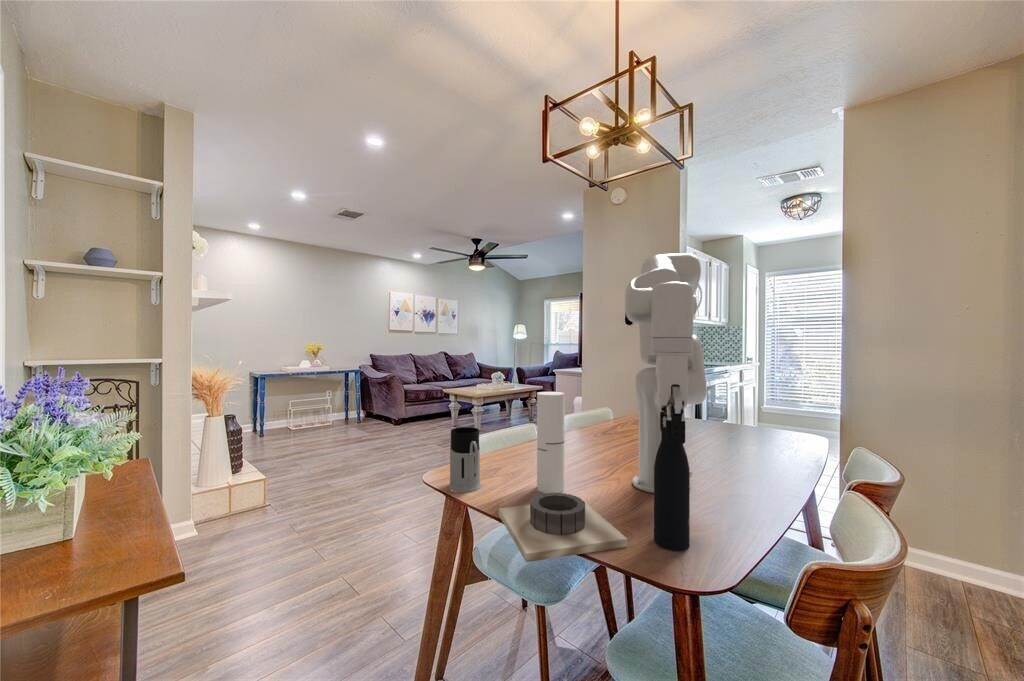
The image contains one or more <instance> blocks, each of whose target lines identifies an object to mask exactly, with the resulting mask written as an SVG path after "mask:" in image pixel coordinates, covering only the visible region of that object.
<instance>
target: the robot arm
mask: <svg viewBox="0 0 1024 681" xmlns="http://www.w3.org/2000/svg"><path fill="white" fill-rule="evenodd" d="M701 267H702V266H701V262H700V259H699V258H698V257H697V256H696V255H695V254H693V253H690V252H689V253H688V252H684V253H681V252H680V253H663V254H655V255H652V256H649V257H648V258H646V259H645V260H644V261H643V263H642V265H641V268H640V275H638V276H636V277H634V278H633V279H631V280H630V281H629V282H628V284H627V285H626V289H625V292H624V312H625V316H626V318H627V319H628V321H630V322H632V323H634V324H637V325H638V327H639V329H638V331H639V334H638V335H639V354H640V359H641V362H642V363H643V364H644V365H646V366H647V367H645V368H642V369H641V370H639V371H638V372H637V374H636V375H635V379H634V380H635V381H634V382H635V383H634V384H635V391H636V392H635V393H636V400H637V409H638V410H637V411H638V475H635V476H633V477H632V484H633V486H634V487H635V488H637V489H639V490H640V491H644V492H646V493H651V494H654V464H655V459H656V454H657V451H658V448H659V445H660V443H661V427H662V426H663V417H664V416H667V417H668V420H666V441H667V442H668V443H680V444H683V445H684V444H685V443H686V420H685V419H686V417H685V409H686V408H687V406H688V405H691V406H692V405H694V406H695V405H700V404H702V403H703V402H705V400H706V399H707V394H708V393H707V392H708V386H707V377H706V368H705V362H704V361H705V360H704V352H703V347H702V346H703V345H702V342H701V340H700V339H699V337H698V336H697V335H696V334H694V316H695V315H696V314H697V308H698V300H697V296H696V295H695V292H696V289H697V287H698V285H699V282H700V280H701V273H702V268H701ZM671 391H672V395H671ZM665 406H667V407H666V408H667V415H665V414H664V412H665ZM692 477H693V472H692V470H690V478H692Z"/></svg>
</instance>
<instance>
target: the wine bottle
mask: <svg viewBox="0 0 1024 681" xmlns="http://www.w3.org/2000/svg"><path fill="white" fill-rule="evenodd" d="M671 395H672V391H671ZM666 407H667V406H665V412H664V414H665V415H667V408H666ZM666 420H668V417H667V416H664V417H663V426H662V427H661V443H660V445H659V448H658V451H657V454H656V459H655V464H654V493H653V541H654V543H655V544H656V545H657V546H659V547H660V548H662V549H664V550H668V551H673V552H682V551H687V550H688V549H689V548H690V530H691V529H690V524H691V523H690V507H691V506H690V503H691V502H690V498H691V497H690V496H691V495H690V493H691V492H690V486H691V484H690V483H691V482H690V478H691V477H690V471H691V470H690V466H689V460H688V459H689V458H688V454H687V452H686V449H685V446H684V444H680V443H668V442H667V441H666Z"/></svg>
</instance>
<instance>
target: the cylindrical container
mask: <svg viewBox="0 0 1024 681" xmlns="http://www.w3.org/2000/svg"><path fill="white" fill-rule="evenodd" d="M565 398H566V396H565V393H564V392H562V391H561V392H560V391H539V392H536V401H537V402H536V420H537V421H536V477H537V478H536V489H537V491H538V492H540V493H541V494H545V493H562V492H564V491H565V424H566V423H565V413H566V412H565V411H566V410H565Z"/></svg>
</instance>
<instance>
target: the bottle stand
mask: <svg viewBox="0 0 1024 681" xmlns="http://www.w3.org/2000/svg"><path fill="white" fill-rule="evenodd" d="M498 516H499V519H500V520H501V522H502V523H503V525H504V526H505V529H506V530H507V532H508V533H509V535H510V537H511V538H512V540H513V542H514V544H515V546H516V548H517V549H518V552H520V554H521V556H522V558H523V559H524V561H525V563H530V562H536V561H543V560H550V559H556V558H562V557H568V556H569V557H570V556H576V555H581V554H588V553H595V552H602V551H607V550H614V549H615V550H616V549H621V548H626V547H628V538H627V537H626V536H625V535H623V533H621V532H620V531H619V530H618V529H616V528H615V527H614V526H613V525H612V524H611V523H610V522H609V521H607V520H606V519H605V518H604V516H602V515H600V514H599V512H597V511H596V510H595V509H594V508H592V507H591V506H590V505H589V504H588V503H586V502H585V501H584V500H583V499H582V498H581V497H579V496H576V495H573V494H569V493H562V492H561V493H541V494H540V493H539V494H538V495H535V496H533V498H532V499H531V500H530V502H529V504H526V505H525V504H524V505H518V506H516V505H515V506H509V507H507V506H506V507H499V508H498Z"/></svg>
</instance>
